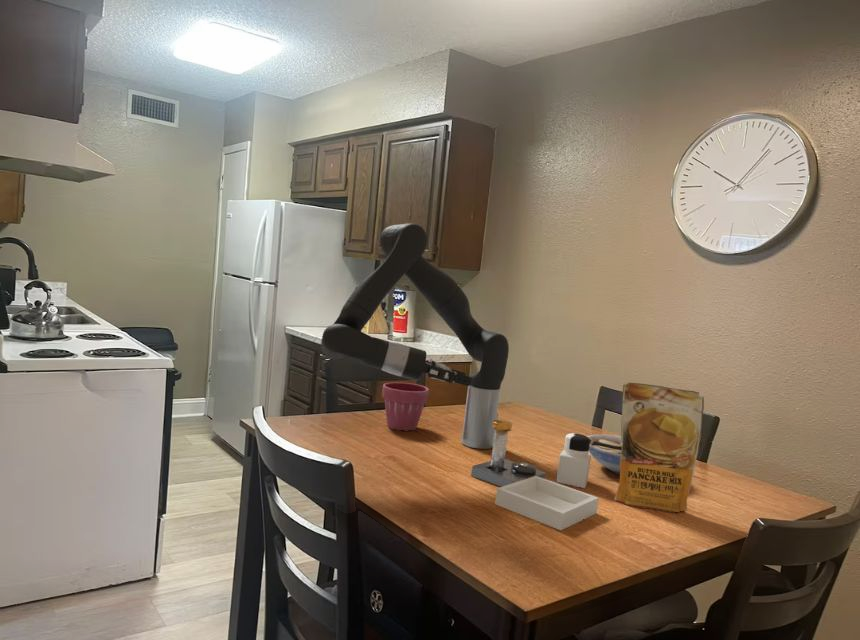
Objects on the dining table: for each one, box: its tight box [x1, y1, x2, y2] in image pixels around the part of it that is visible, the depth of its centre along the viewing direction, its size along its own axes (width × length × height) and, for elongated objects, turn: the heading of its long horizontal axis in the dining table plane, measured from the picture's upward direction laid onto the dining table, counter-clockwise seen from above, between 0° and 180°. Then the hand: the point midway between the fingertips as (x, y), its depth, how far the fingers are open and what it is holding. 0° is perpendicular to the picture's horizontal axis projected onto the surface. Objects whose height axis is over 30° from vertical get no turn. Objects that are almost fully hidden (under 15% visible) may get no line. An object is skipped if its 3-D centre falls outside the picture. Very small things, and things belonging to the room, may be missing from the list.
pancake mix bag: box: [613, 382, 705, 514], centre depth 143 cm, size 7×19×28 cm, turn 81°
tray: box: [494, 476, 600, 531], centre depth 133 cm, size 16×16×4 cm
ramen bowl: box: [586, 434, 622, 475], centre depth 168 cm, size 25×23×8 cm
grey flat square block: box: [470, 458, 547, 488], centre depth 150 cm, size 13×13×4 cm
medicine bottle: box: [555, 432, 592, 489], centre depth 154 cm, size 7×7×12 cm
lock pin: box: [490, 419, 513, 472], centre depth 150 cm, size 5×5×14 cm
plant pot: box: [381, 381, 430, 432], centre depth 189 cm, size 14×14×13 cm
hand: (467, 379), depth 149 cm, fingers open, 8 cm apart
